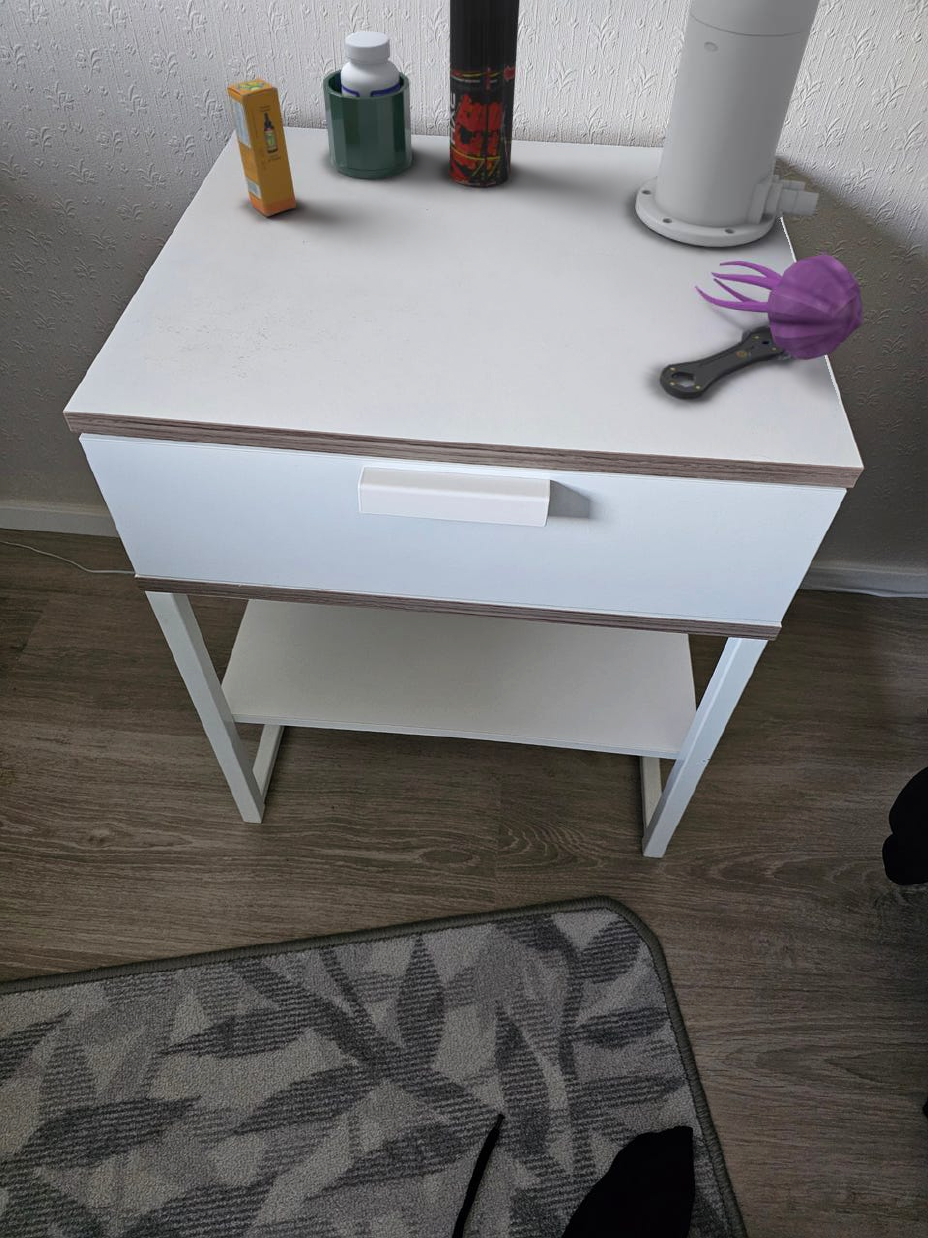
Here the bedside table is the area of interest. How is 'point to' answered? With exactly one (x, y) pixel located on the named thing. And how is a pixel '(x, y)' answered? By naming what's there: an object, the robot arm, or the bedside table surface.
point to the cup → (368, 130)
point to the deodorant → (482, 89)
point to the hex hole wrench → (722, 363)
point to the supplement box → (262, 145)
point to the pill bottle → (368, 66)
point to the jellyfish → (802, 303)
